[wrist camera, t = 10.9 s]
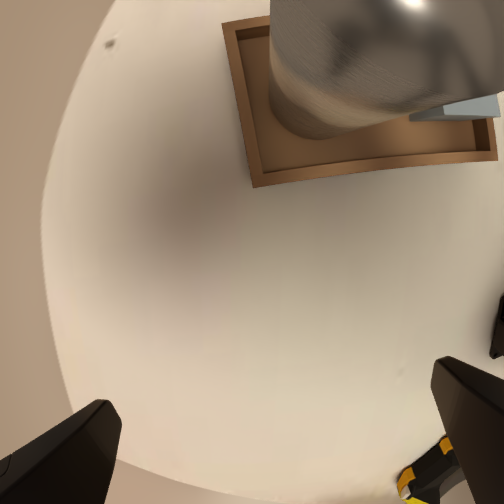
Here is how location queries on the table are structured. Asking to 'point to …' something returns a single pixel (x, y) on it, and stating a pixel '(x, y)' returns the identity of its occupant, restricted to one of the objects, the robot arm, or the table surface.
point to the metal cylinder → (379, 60)
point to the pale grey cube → (461, 110)
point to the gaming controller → (428, 475)
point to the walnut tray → (340, 147)
